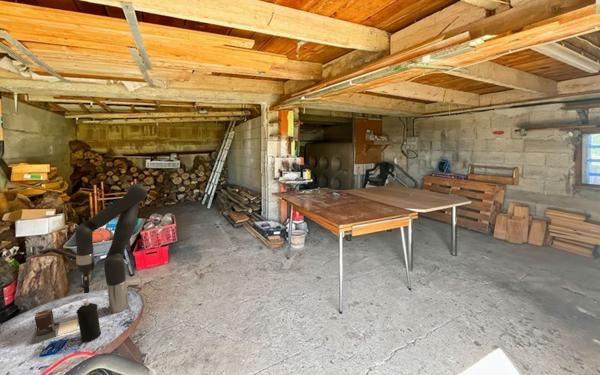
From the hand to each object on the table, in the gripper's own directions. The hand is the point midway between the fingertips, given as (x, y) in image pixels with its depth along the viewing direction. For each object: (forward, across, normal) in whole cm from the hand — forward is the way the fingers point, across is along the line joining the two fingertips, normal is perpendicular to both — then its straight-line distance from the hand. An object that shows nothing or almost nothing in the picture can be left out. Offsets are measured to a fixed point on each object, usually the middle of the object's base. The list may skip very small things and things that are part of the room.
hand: (86, 289), depth 146 cm
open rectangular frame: (+18, -3, +16) cm, 25 cm away
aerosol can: (+17, -18, -2) cm, 25 cm away
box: (+19, -3, +16) cm, 25 cm away
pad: (+18, -3, +8) cm, 20 cm away
